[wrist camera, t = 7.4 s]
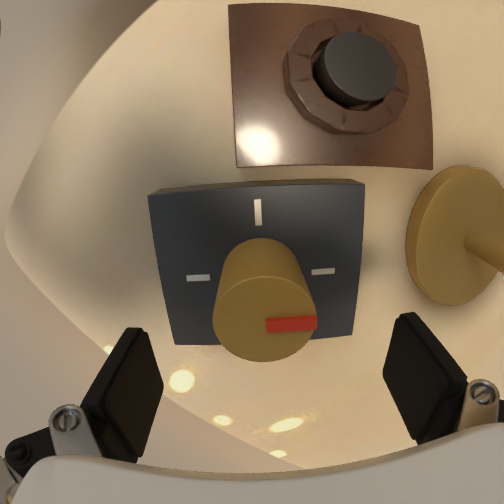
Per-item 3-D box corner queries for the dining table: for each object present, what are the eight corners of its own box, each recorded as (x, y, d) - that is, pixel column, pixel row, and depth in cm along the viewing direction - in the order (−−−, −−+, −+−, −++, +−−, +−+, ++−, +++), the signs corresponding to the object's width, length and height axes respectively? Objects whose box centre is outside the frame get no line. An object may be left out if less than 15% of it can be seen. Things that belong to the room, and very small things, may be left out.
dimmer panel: (181, 324, 21) (174, 346, 18) (160, 188, 17) (146, 195, 15) (342, 316, 20) (352, 336, 18) (350, 179, 17) (366, 184, 15)
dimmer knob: (226, 309, 17) (218, 368, 12) (218, 239, 16) (204, 282, 11) (298, 305, 17) (315, 363, 12) (299, 235, 16) (321, 276, 11)
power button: (318, 103, 12) (327, 97, 11) (312, 39, 11) (320, 27, 9) (384, 108, 12) (400, 105, 11) (377, 47, 11) (391, 38, 9)
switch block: (238, 165, 17) (234, 170, 13) (230, 19, 13) (225, -11, 10) (415, 166, 17) (449, 173, 13) (404, 34, 13) (433, 16, 10)
